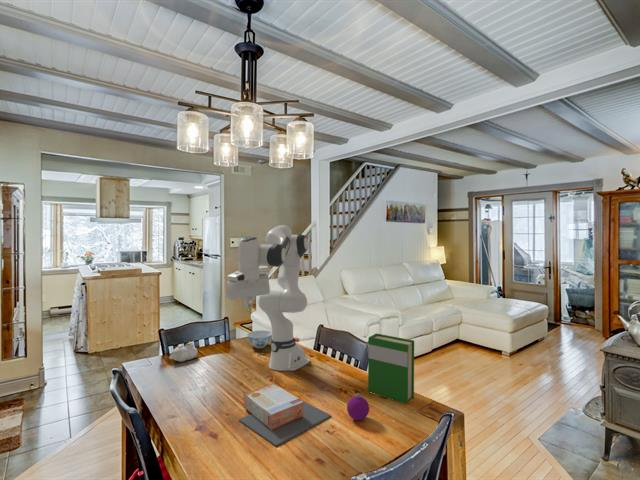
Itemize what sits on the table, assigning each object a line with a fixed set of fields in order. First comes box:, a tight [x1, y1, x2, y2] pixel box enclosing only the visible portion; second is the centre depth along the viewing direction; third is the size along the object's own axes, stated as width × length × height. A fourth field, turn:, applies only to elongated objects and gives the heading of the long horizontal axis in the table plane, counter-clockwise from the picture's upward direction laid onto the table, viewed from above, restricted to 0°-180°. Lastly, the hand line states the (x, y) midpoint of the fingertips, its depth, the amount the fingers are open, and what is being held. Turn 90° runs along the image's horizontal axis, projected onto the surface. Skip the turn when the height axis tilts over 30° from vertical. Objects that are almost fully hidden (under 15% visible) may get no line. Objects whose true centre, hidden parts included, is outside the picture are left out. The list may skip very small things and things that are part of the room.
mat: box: [238, 399, 332, 448], centre depth 127 cm, size 26×22×1 cm
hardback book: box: [367, 333, 415, 405], centre depth 147 cm, size 18×7×24 cm, turn 54°
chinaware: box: [247, 330, 272, 349], centre depth 210 cm, size 15×15×8 cm
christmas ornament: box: [346, 393, 370, 421], centre depth 128 cm, size 8×8×10 cm
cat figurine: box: [168, 342, 199, 363], centre depth 186 cm, size 10×8×15 cm
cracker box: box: [243, 383, 304, 430], centre depth 131 cm, size 14×6×21 cm
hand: (248, 307), depth 147 cm, fingers closed
